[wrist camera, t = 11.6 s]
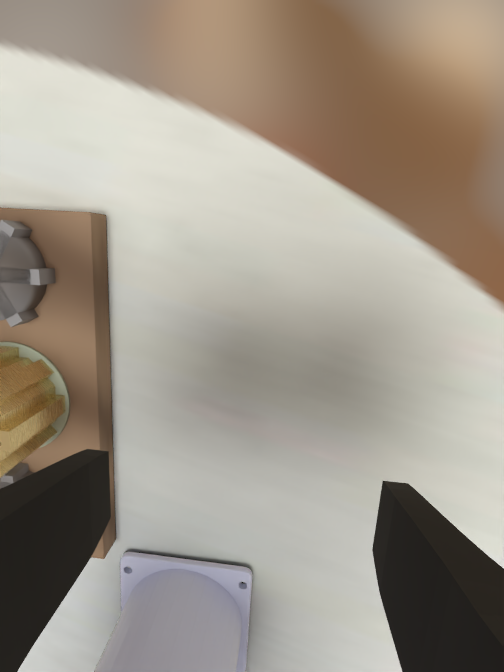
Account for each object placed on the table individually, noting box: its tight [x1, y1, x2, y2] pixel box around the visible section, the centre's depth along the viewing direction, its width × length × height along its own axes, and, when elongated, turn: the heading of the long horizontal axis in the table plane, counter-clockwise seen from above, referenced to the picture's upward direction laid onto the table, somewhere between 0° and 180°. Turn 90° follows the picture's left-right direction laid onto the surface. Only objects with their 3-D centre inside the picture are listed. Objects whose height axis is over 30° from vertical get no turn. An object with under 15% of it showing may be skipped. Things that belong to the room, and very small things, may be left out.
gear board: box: [0, 208, 116, 559], centre depth 19 cm, size 19×9×5 cm, turn 177°
